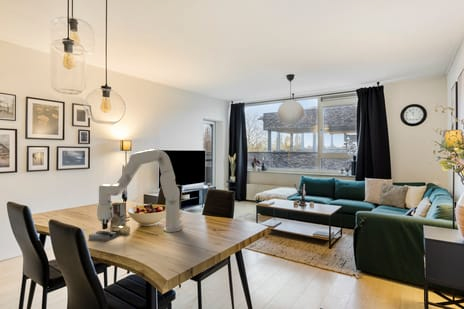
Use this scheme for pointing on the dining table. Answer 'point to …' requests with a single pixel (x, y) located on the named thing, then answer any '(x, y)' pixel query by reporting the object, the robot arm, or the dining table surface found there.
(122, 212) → the coffee box
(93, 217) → the dining table surface
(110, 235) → the steel v block
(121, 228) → the brass axle
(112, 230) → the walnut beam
